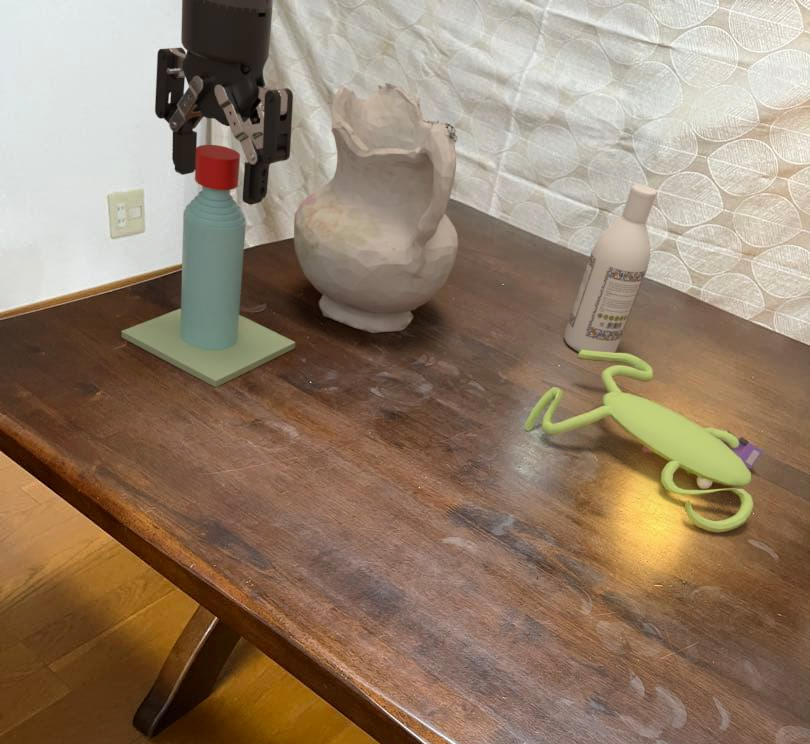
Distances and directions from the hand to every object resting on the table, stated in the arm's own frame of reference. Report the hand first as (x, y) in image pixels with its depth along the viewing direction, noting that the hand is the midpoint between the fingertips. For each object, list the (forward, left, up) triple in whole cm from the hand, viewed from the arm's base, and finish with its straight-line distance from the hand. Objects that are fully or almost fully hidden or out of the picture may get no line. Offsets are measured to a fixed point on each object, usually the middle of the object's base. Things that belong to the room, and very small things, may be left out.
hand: (218, 187), depth 83 cm
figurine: (+44, +19, -17) cm, 51 cm away
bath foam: (+30, +38, -17) cm, 51 cm away
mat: (0, 0, -17) cm, 17 cm away
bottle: (0, 0, -16) cm, 16 cm away
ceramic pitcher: (+7, +21, -17) cm, 28 cm away
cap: (0, 0, 0) cm, 0 cm away
